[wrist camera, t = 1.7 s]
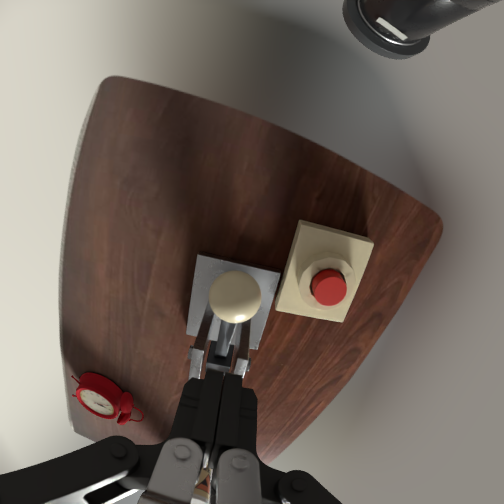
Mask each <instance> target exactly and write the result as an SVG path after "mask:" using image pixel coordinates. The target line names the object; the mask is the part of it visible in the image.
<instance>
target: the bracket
mask: <svg viewBox="0 0 504 504" xmlns="http://www.w3.org/2000/svg"><path fill="white" fill-rule="evenodd" d="M228 271H242V272H245V273H247V274H249V275H250V276H252V277H253V278H254V279H255V280H256V282H257V283H258V285H259V287H260V290H261V295H262V296H261V304H260V307H259V309H258V311H257V312H256V314H255V315H254V316H253V317H251V318H250V319H248V320H247V321H244V322H241V323H237V324H236V327H235V330H234V334H233V337H232V340H231V343H230V344H232V345H235V347H234V355H233V362H232V370H231V373H234V374H239V375H243V377H244V373H245V371H247V372H248V371H249V369H250V365H251V358H249V348H251V349H258V346H259V342H260V339H261V336H262V333H263V330H264V327H265V324H266V320H267V317H268V314H269V311H270V308H271V304H272V301H273V298H274V294H275V291H276V288H277V285H278V281H279V278H280V274H281V272H280V269H276V268H272V267H267V266H263V265H258V264H254V263H249V262H245V261H240V260H236V259H231V258H227V257H223V256H218V255H214V254H209V253H205V252H201V251H199V253H198V255H197V260H196V267H195V273H194V279H193V286H192V293H191V300H190V307H189V314H188V322H187V329H186V334H188V335H192V336H196V340H195V343H194V346H193V345H191V346H190V348H189V352H188V359H191V365H190V373H189V380H190V379H191V378H192V377H194V378H199V379H200V375H201V371H202V367H203V363H204V359H205V355H206V351H207V347H208V343H209V340H213V341H217V339H218V334H219V329H220V325H221V320H222V319H220V318H219V317H218V316H217V315H216V314H215V313H214V312H213V310H212V308H211V306H210V303H209V290H210V287H211V285H212V283H213V282H214V280H215V279H216V278H217V277H218V276H220V275H221V274H223V273H225V272H228ZM242 380H243V379H242Z"/></svg>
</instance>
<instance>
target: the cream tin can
mask: <svg viewBox="0 0 504 504" xmlns="http://www.w3.org/2000/svg"><path fill="white" fill-rule="evenodd" d="M210 476H211V469H209V468H208V462H207V465H206V468H203V467H202V470H201V474H200V477H199V481H198V483H197V484H196V486H195V489H194V493H193V497H192V500H191V504H209V491H210Z"/></svg>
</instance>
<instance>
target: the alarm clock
mask: <svg viewBox="0 0 504 504" xmlns="http://www.w3.org/2000/svg"><path fill="white" fill-rule="evenodd" d="M71 377H72V378H74V377H73V375H72V376H71ZM74 379H75V378H74ZM75 380H76V379H75ZM79 380H80V382H79V381H78V380H76V381H77V382H78V383H79V386H78V388H77V389H76V396H75V395H72V396H73V397H74V396H75V397H77V399H78V400H79V402H80V403H81V404H82V405H83V406H84V407H85V408H86V409H87V410H88V411H90V412H91V413H93V414H95V415H97V416H99V417H102V418H105V419H114V418H116V417H117V416H118V414H119V411H122V412H121V414H120V416H119V418H118V420H117V423H118V424H120V425H124V424H125V423H126V422H127V421H128V420H129V421H131V420H132V421H136V422H140V421H142V420H143V418H144V415H143V413H142V411H141V410H139V409H138V408H136V407H134V404H133V397H132V395H131V394H130V393H128V392H124V393H123V392H122V390H121V389H120V388H119V387H118V386H117V385H116V384H114V383H113V382H112V381H110V380H109V379H107V378H105V377H104V376H101V375H99V374H96V373H89V372H88V373H84V374H83V375H82V376H81V377H79ZM132 407H133V408H135V409H137V410H139V411H140V412H141V413H142V419H141V420H139V421H137V420H133V419H130V416H131V410H132Z"/></svg>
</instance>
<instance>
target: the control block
mask: <svg viewBox="0 0 504 504" xmlns="http://www.w3.org/2000/svg"><path fill="white" fill-rule="evenodd" d="M373 246H374V243H373V242H372V241H371V240H370V239H369V238H367V237H364V236H360V235H356V234H353V233H349V232H345V231H342V230H338V229H334V228H330V227H327V226H323V225H319V224H315V223H311V222H307V221H303V220H299V222H298V225H297V229H296V232H295V236H294V239H293V243H292V246H291V250H290V253H289V256H288V260H287V263H286V267H285V270H284V273H283V277H282V280H281V283H280V287H279V290H278V293H277V296H276V300H275V308H276V310H277V311H282V312H288V313H293V314H298V315H303V316H309V317H314V318H320V319H326V320H332V321H337V322H343V320H344V318H345V316H346V314H347V311H348V309H349V307H350V304H351V302H352V300H353V297H354V295H355V293H356V290H357V288H358V285H359V283H360V280H361V278H362V275H363V273H364V270H365V267H366V265H367V262H368V259H369V257H370V254H371V251H372V249H373ZM326 269H332V270H335V271H337V272H338V273H340V275H341V276H342V278H343V280H344V282H345V283H346V286H347V293H346V296H345V297H344V299H343V300H342V301H341V302H340V303H338V304H336V305H334V306H324V305H321V304H320V303H318V302H317V300H316V299H315V296H314V293H313V290H312V281H313V279H314V277H315V276H316V275H317V274H318V273H319V272H321V271H323V270H326Z"/></svg>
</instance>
